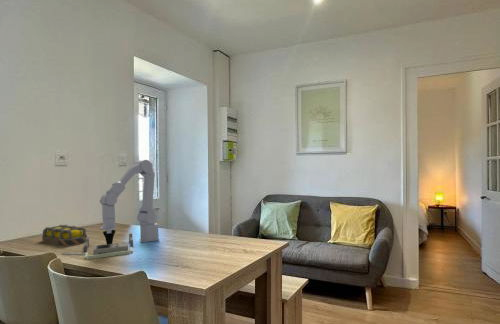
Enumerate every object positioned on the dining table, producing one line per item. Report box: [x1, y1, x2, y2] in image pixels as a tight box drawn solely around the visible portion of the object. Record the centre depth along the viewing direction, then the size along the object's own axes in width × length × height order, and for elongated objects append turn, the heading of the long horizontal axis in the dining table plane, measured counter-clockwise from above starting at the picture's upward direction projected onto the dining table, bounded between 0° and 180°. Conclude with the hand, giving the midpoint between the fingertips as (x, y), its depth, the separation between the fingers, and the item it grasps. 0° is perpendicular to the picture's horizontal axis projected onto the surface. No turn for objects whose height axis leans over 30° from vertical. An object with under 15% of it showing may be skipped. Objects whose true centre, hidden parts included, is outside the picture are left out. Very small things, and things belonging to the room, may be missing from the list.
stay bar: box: [61, 252, 87, 256], centre depth 150 cm, size 2×12×1 cm, turn 82°
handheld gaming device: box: [92, 242, 129, 255], centre depth 150 cm, size 9×15×4 cm, turn 113°
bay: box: [84, 246, 134, 260], centre depth 148 cm, size 20×9×1 cm, turn 114°
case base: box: [83, 232, 134, 253], centre depth 163 cm, size 23×13×4 cm, turn 114°
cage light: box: [41, 224, 88, 247], centre depth 179 cm, size 15×8×30 cm
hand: (109, 245), depth 158 cm, fingers closed
